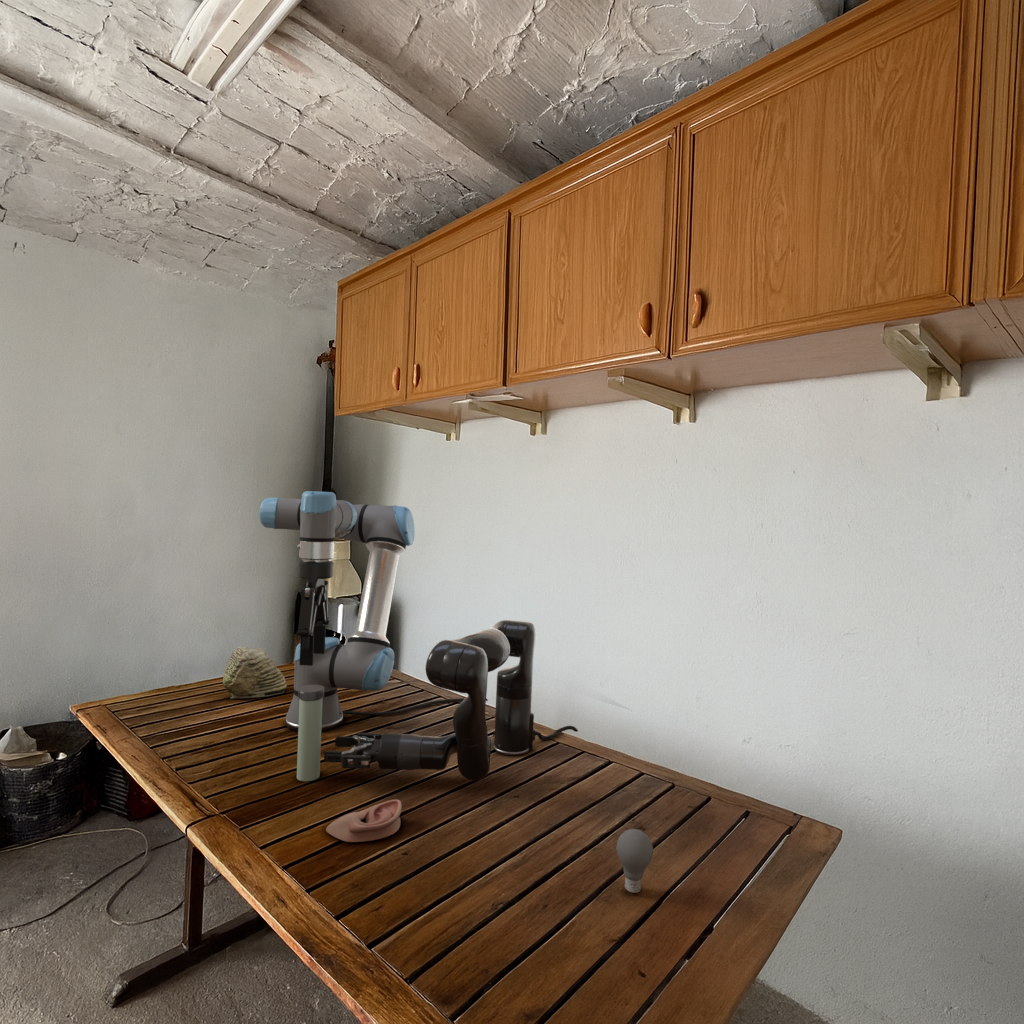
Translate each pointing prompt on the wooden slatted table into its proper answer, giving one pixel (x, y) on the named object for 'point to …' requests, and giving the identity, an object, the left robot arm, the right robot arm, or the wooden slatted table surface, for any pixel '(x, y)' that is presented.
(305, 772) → the pale green cylinder
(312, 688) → the lid
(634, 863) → the light bulb
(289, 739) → the wooden slatted table surface
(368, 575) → the left robot arm
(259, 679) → the fossil
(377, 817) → the anatomical model
